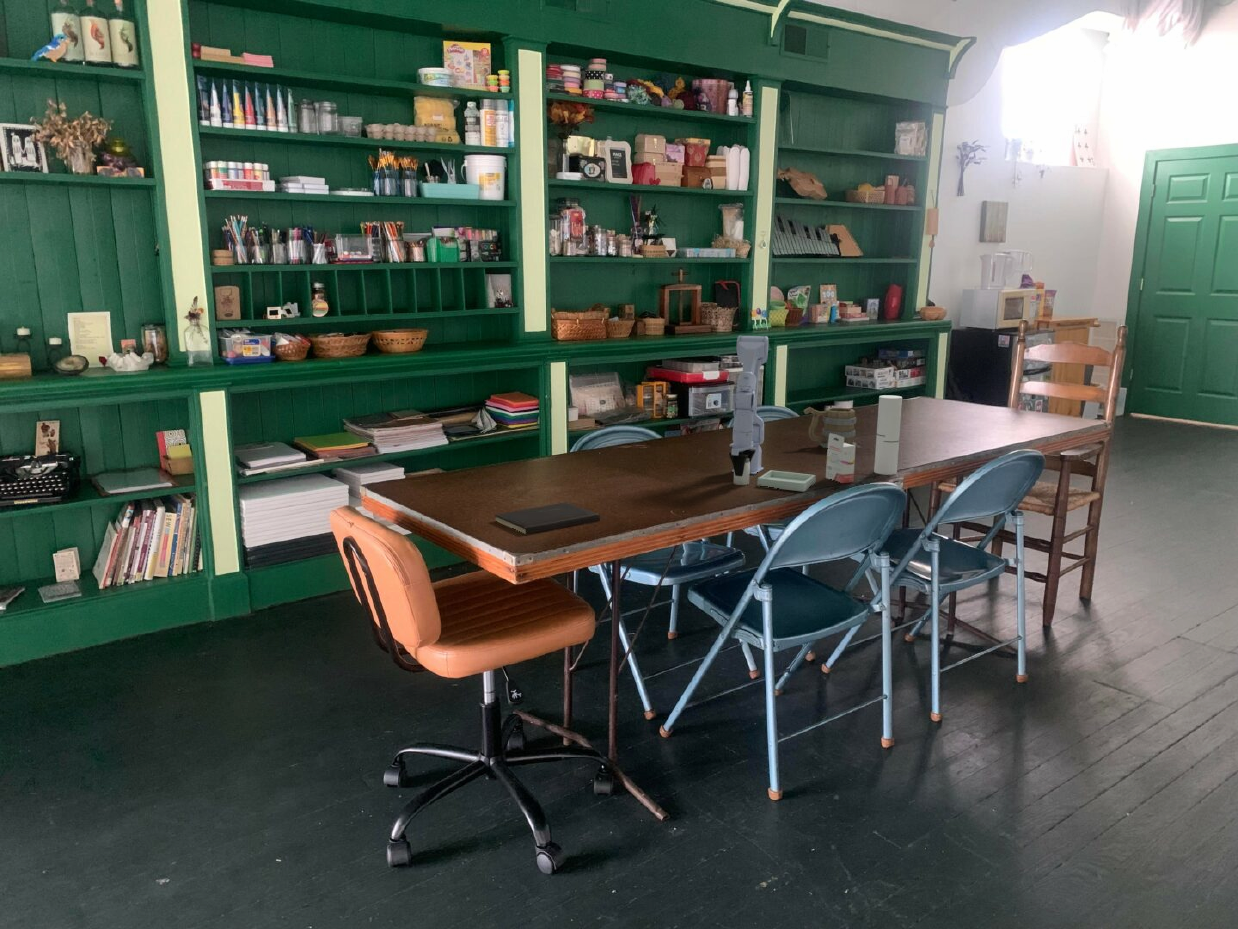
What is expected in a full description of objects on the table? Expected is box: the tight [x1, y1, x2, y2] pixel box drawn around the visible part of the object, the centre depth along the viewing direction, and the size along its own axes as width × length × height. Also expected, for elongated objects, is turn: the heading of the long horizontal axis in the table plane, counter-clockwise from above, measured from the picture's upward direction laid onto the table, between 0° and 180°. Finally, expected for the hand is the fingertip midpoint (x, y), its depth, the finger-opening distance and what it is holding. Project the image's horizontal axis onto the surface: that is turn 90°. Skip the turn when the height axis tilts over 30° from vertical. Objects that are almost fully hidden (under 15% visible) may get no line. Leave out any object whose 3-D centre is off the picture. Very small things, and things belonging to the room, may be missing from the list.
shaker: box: [733, 457, 750, 486], centre depth 290 cm, size 5×5×8 cm
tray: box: [757, 470, 817, 493], centre depth 289 cm, size 13×15×2 cm
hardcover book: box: [493, 501, 601, 535], centre depth 248 cm, size 16×23×2 cm
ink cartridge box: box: [825, 433, 856, 484], centre depth 295 cm, size 9×5×15 cm, turn 23°
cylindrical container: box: [873, 394, 903, 476], centre depth 305 cm, size 7×7×25 cm
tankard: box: [803, 406, 858, 449], centre depth 347 cm, size 20×13×15 cm, turn 92°
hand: (741, 474), depth 290 cm, fingers closed on shaker, 5 cm apart
